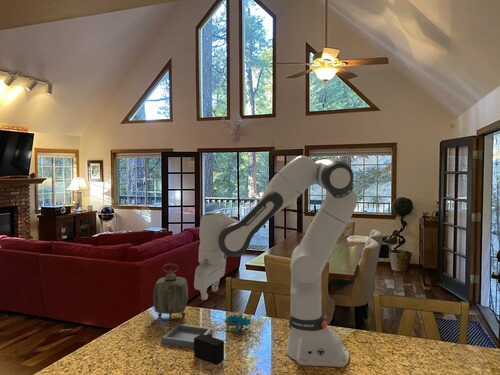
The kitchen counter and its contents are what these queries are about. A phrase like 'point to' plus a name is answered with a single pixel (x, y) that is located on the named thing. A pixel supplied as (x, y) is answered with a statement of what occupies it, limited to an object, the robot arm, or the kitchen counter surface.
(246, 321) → the blue lumpy piece
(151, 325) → the kitchen counter surface
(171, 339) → the tray
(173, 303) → the tabletop clock
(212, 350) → the digital camera
